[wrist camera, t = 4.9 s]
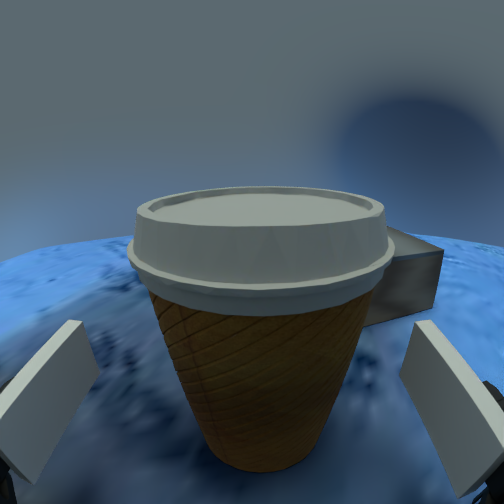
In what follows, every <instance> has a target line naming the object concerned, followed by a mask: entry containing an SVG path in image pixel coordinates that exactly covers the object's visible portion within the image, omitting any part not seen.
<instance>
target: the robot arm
mask: <svg viewBox="0 0 504 504" xmlns="http://www.w3.org/2000/svg"><path fill="white" fill-rule="evenodd" d="M99 374H100V371H99V369H98V366H97V363H96V361H95V358H94V355H93V352H92V349H91V346H90V343H89V340H88V337H87V334H86V331H85V328H84V325H83V321H75V320H68V321H67V322H66V323H65V324H64V325H63V326H62V327H61V328H60V329H59V330H58V331H57V332H56V333H55V334H54V335H53V336H52V337H51V338H50V339H49V340H48V341H47V342H46V343H45V345H44V346H43V347H42V348H41V349H40V350H39V351H38V352H37V353H36V354H35V355H34V356H33V357H32V359H31V360H30V361H29V362H28V363H27V364H26V365H25V366H24V367H23V368H22V370H21V371H20V372H19V373H18V374H17V375H16V376H15V377H13V378H12V379H10V380H9V381H7V382H6V383H4V384H3V386H2V387H1V388H0V504H17V501H16V496H15V492H14V487H13V481H12V478H11V475H10V474H9V473H8V471H9V469H10V468H11V469H12V470H13V471H14V472H15V473H16V474H17V475H18V477H20V478H21V479H23V480H25V481H27V482H29V483H30V484H32V485H35V483H36V482H37V480H38V478H39V476H40V474H41V472H42V470H43V468H44V467H45V465H46V463H47V461H48V459H49V457H50V456H51V454H52V452H53V450H54V448H55V447H56V445H57V443H58V441H59V440H60V438H61V436H62V434H63V433H64V431H65V429H66V428H67V426H68V424H69V423H70V421H71V419H72V418H73V416H74V414H75V413H76V411H77V409H78V408H79V406H80V404H81V403H82V401H83V399H84V398H85V396H86V395H87V393H88V391H89V390H90V388H91V387H92V385H93V383H94V382H95V380H96V379H97V377H98V376H99ZM399 376H400V378H401V380H402V382H403V384H404V386H405V387H406V389H407V391H408V393H409V395H410V397H411V399H412V401H413V403H414V405H415V407H416V409H417V411H418V413H419V415H420V417H421V419H422V421H423V423H424V425H425V427H426V429H427V431H428V433H429V435H430V438H431V440H432V442H433V444H434V446H435V448H436V450H437V453H438V455H439V457H440V459H441V461H442V464H443V466H444V468H445V471H446V473H447V475H448V478H449V480H450V482H451V485H452V487H453V489H454V492H455V494H456V497H457V499H459V498H461V497H463V496H466V495H468V494H470V493H472V492H474V491H476V490H477V489H478V488H479V487H480V486H481V485H482V484H483V483H484V482H486V484H487V487H486V488H485V489H484V490H483V491H482V492H481V493H480V494H479V495H478V496H476V497H475V498H474V500H473V502H472V503H471V504H475V503H476V502H477V501H478V500H479V499H480V498H481V497H482V498H481V501H480V502H479V503H478V504H504V397H503V395H502V394H501V393H500V391H499V390H498V389H497V388H496V387H495V386H493V385H492V384H490V383H489V382H488V381H484V382H481V380H480V379H479V378H478V377H477V375H476V374H475V373H474V371H473V370H472V369H471V368H470V366H469V365H468V364H467V363H466V361H465V360H464V359H463V358H462V356H461V355H460V354H459V353H458V351H457V350H456V349H455V348H454V347H453V345H452V344H451V343H450V342H449V341H448V339H447V338H446V337H445V336H444V335H443V334H442V332H441V331H440V330H439V329H438V328H437V327H436V325H435V324H434V323H433V322H432V321H431V320H423V321H415V323H414V327H413V330H412V334H411V338H410V341H409V345H408V348H407V352H406V355H405V358H404V361H403V365H402V368H401V371H400V374H399Z"/></svg>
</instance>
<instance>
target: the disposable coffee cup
mask: <svg viewBox="0 0 504 504" xmlns="http://www.w3.org/2000/svg"><path fill="white" fill-rule="evenodd" d="M394 251H395V245H394V243H393V241H392V239H391V238H390V237H389V236H388V234H387V226H386V219H385V211H384V206H383V205H382V204H381V203H380V202H377V201H375V200H373V199H371V198H368V197H364V196H361V195H356V194H351V193H346V192H341V191H334V190H326V189H317V188H304V187H278V186H275V187H274V186H270V187H269V186H260V187H232V188H218V189H209V190H201V191H192V192H185V193H180V194H174V195H170V196H166V197H161V198H158V199H154V200H151V201H149V202H147V203H145V204H143V205H141V206H140V207H138V208H137V216H136V224H135V233H134V238H133V239H132V240H131V241H130V243H129V245H128V247H127V254H128V259H129V261H130V264H131V266H132V268H134V269H135V270H136V271H138V274H139V278H140V281H141V282H142V283H143V284H144V285H145V286H146V287H147V289H148V291H149V295H150V298H151V301H152V304H153V306H154V311H155V314H156V316H157V319H158V321H159V326H160V329H161V331H162V334H163V335H164V340H165V343H166V345H167V347H168V349H169V350H168V352H169V354H170V357H171V359H172V360H173V364H174V368H175V371H178V372H177V375H178V377H179V380H180V382H182V383H181V385H182V387H183V390H184V392H185V395H186V398H187V400H188V401H189V404H190V406H191V409H192V411H193V413H194V416H195V418H196V420H197V422H198V424H199V426H200V429H201V431H202V433H203V435H204V437H205V440H206V442H207V444H208V446H209V448H210V450H211V451H212V452H213V453H214V454H215V456H217V457H218V458H219V459H220V460H222V461H223V462H224V463H226V464H228V465H231V466H233V467H235V468H237V469H241V470H244V471H249V472H259V473H261V472H274V471H278V470H282V469H285V468H288V467H290V466H292V465H294V464H296V463H298V462H300V461H301V460H302V459H304V458H305V457H306V456H307V455H308V454H309V453H310V452H311V450H312V449H313V448H314V446H315V444H316V442H317V440H318V438H319V436H320V434H321V432H322V429H323V427H324V425H325V423H326V421H327V419H328V416H329V414H330V412H331V409H332V407H333V405H334V402H335V400H336V398H337V396H338V393H339V390H340V388H341V386H342V383H343V380H344V378H345V376H346V373H347V371H348V368H349V365H350V362H351V360H352V357H353V354H354V352H355V349H356V346H357V343H358V340H359V336H360V334H361V331H362V328H363V325H364V322H365V319H366V316H367V313H368V309H369V306H370V303H371V299H372V296H373V292H374V288H375V285H376V284H377V283H378V282H379V281H380V280H381V279H382V277H383V273H384V269H385V268H386V267H387V266H389V265H390V264H391V261H392V258H393V256H394Z"/></svg>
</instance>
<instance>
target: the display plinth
mask: <svg viewBox="0 0 504 504" xmlns="http://www.w3.org/2000/svg"><path fill="white" fill-rule="evenodd" d="M387 234H388V236H389V237H390V238H391V239H392V241H393V243H394V245H395V251H394V256H393V258H392V261H391V264H390V265H389V266H387V267H386V268H385V269H384V273H383V277H382V279H381V280H380V281H379V282H378V283H377V284H376V285H375V288H374V292H373V296H372V299H371V303H370V306H369V309H368V313H367V316H366V319H365V322H364V325H363V327H364V326H368V325H372V324H376V323H380V322H384V321H388V320H391V319H395V318H399V317H402V316H406V315H409V314H413V313H416V312H420V311H423V310H426V309H430V308H432V307H433V303H434V299H435V295H436V290H437V286H438V281H439V276H440V271H441V266H442V260H443V254H444V250H443V249H441V248H439V247H437V246H434V245H432V244H430V243H427V242H425V241H423V240H420V239H418V238H416V237H413V236H411V235H408V234H406V233H404V232H401V231H399V230H396V229H394V228H391V227H389V226H387Z"/></svg>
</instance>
